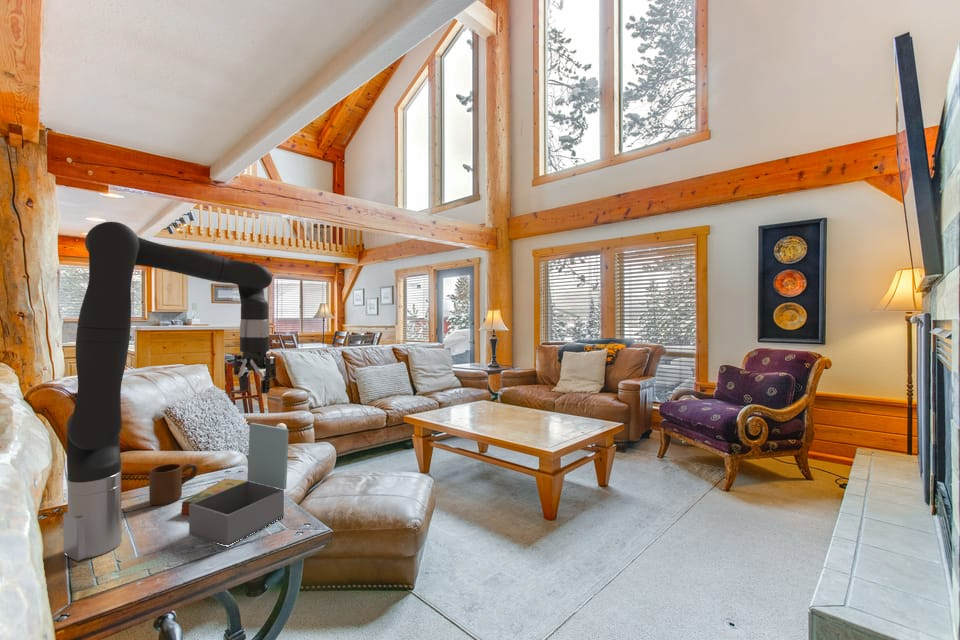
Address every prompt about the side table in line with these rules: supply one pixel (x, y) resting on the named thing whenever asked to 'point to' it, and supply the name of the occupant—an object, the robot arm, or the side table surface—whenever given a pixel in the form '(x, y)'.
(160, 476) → the mug
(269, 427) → the lid flap
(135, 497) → the side table surface
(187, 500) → the carton
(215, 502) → the storage box
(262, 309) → the robot arm
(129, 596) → the side table surface
